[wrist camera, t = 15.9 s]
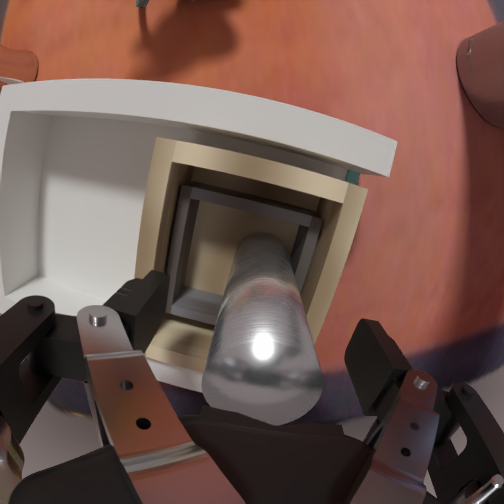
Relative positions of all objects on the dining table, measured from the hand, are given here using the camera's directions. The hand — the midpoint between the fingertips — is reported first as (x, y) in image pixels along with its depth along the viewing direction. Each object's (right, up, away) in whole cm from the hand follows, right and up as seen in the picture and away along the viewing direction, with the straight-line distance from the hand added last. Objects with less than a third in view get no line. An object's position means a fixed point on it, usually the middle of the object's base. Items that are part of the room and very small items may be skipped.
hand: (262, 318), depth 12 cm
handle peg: (0, +2, +7) cm, 8 cm away
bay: (-7, +5, +10) cm, 13 cm away
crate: (-1, +3, +8) cm, 9 cm away
